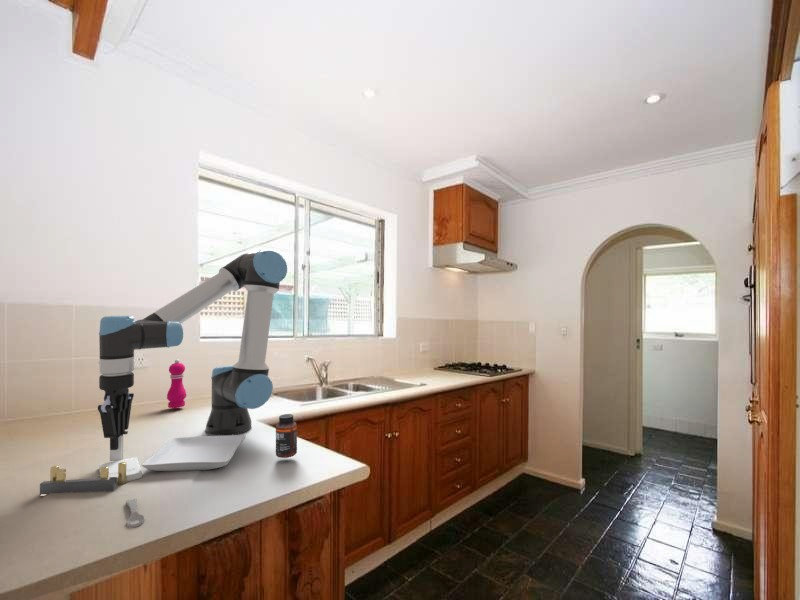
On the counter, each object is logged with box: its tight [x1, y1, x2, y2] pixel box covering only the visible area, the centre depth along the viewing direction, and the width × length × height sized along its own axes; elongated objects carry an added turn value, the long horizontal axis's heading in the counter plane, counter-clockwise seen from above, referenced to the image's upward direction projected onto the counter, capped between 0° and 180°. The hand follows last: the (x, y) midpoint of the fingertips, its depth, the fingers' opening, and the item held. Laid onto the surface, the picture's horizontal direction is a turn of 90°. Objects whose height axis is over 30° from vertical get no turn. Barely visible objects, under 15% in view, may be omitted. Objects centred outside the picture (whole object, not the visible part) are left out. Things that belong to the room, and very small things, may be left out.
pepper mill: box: [166, 358, 187, 409], centre depth 165 cm, size 7×7×20 cm
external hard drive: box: [98, 456, 143, 484], centre depth 99 cm, size 2×8×12 cm
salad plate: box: [141, 434, 247, 472], centre depth 109 cm, size 21×21×3 cm
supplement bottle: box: [275, 413, 298, 459], centre depth 112 cm, size 6×6×11 cm
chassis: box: [39, 462, 127, 496], centre depth 90 cm, size 16×5×5 cm, turn 99°
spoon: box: [125, 498, 146, 528], centre depth 79 cm, size 3×12×2 cm, turn 39°
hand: (116, 460), depth 104 cm, fingers closed
